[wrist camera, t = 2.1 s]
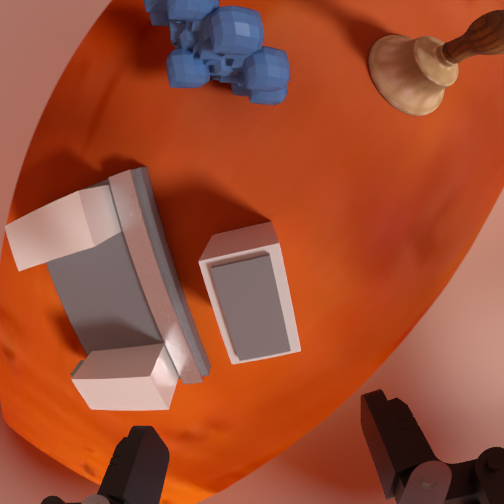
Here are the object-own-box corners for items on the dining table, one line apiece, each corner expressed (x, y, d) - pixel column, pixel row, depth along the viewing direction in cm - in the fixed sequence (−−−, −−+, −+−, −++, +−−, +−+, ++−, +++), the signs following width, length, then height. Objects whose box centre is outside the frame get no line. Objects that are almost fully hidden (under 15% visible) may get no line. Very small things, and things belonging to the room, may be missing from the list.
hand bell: (397, 128, 22) (541, 111, 6) (350, 48, 20) (448, -49, 4) (454, 101, 20) (580, 83, 5) (413, 28, 18) (515, -36, 3)
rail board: (39, 210, 23) (-3, 223, 17) (146, 166, 23) (112, 168, 16) (107, 375, 29) (86, 412, 23) (210, 366, 28) (202, 411, 22)
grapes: (142, 69, 20) (68, 14, 9) (195, 15, 19) (160, -67, 7) (242, 148, 22) (232, 130, 11) (298, 90, 21) (339, 29, 9)
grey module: (212, 234, 24) (197, 263, 17) (271, 220, 24) (279, 244, 17) (236, 317, 27) (231, 367, 20) (289, 306, 26) (302, 354, 19)
